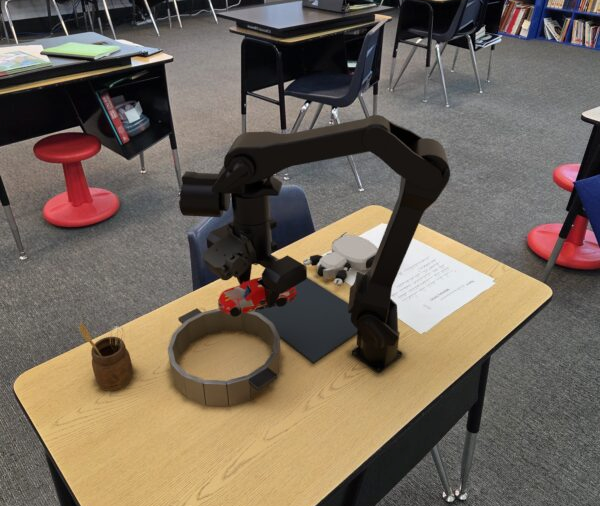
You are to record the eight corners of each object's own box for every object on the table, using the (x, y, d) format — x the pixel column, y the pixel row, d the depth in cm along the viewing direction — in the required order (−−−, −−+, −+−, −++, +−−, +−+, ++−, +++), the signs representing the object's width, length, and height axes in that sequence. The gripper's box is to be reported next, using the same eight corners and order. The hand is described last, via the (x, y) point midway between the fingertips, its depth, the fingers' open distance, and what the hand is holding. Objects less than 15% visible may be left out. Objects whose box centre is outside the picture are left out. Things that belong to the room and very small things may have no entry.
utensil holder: (132, 389, 88) (119, 333, 81) (92, 394, 87) (75, 338, 81) (135, 363, 93) (123, 308, 86) (97, 367, 92) (82, 312, 86)
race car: (221, 320, 88) (218, 301, 86) (216, 300, 92) (213, 281, 90) (299, 304, 91) (299, 285, 89) (290, 286, 95) (290, 267, 93)
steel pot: (310, 373, 91) (310, 351, 88) (221, 435, 80) (218, 412, 78) (230, 310, 105) (228, 289, 102) (145, 355, 94) (141, 334, 92)
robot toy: (339, 298, 109) (389, 265, 117) (339, 280, 107) (389, 248, 114) (299, 271, 117) (348, 242, 125) (298, 254, 114) (348, 226, 122)
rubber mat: (374, 321, 102) (374, 320, 102) (313, 363, 93) (313, 362, 92) (302, 275, 114) (302, 274, 114) (242, 308, 105) (241, 307, 105)
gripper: (173, 214, 84) (186, 294, 92) (249, 262, 72) (256, 349, 80) (230, 190, 90) (237, 267, 99) (308, 231, 79) (309, 314, 87)
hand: (257, 297), depth 91 cm, fingers closed on race car, 6 cm apart
